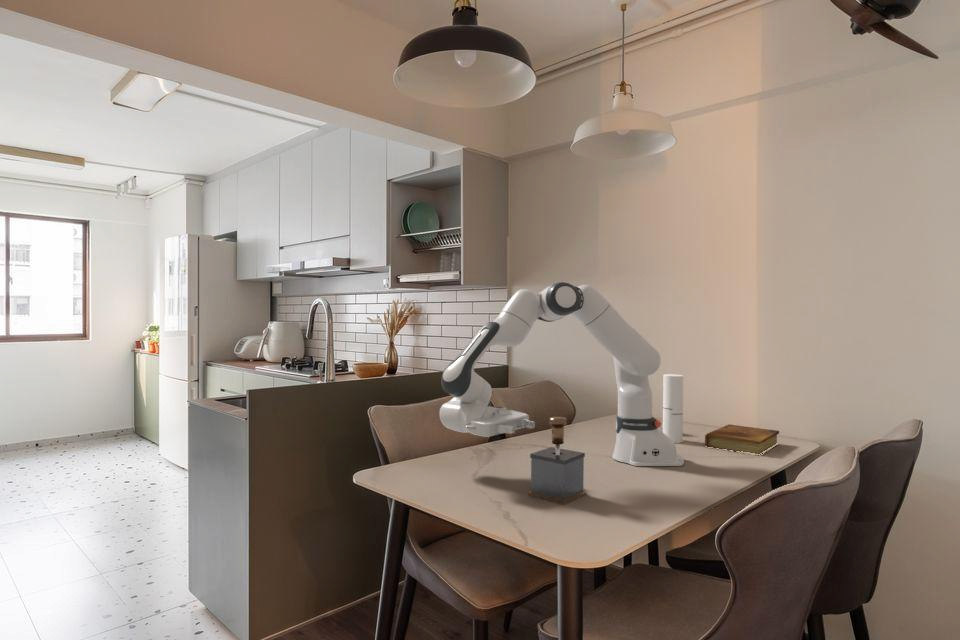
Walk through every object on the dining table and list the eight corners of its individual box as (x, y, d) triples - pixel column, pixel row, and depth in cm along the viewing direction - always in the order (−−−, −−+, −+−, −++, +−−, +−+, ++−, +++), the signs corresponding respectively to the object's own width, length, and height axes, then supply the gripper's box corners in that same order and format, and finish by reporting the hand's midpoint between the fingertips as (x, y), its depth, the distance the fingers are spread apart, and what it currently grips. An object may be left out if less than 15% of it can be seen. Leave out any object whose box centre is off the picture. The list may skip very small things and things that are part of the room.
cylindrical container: (666, 438, 220) (666, 373, 220) (684, 440, 216) (685, 375, 216) (660, 441, 215) (660, 375, 214) (679, 444, 210) (680, 376, 210)
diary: (726, 438, 223) (727, 424, 223) (778, 446, 211) (779, 430, 211) (704, 448, 206) (705, 432, 206) (760, 457, 194) (760, 440, 194)
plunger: (552, 483, 157) (553, 414, 157) (578, 488, 152) (578, 417, 151) (536, 489, 151) (536, 418, 150) (562, 496, 146) (563, 422, 145)
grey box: (550, 485, 159) (551, 446, 159) (585, 494, 152) (586, 453, 152) (528, 495, 150) (528, 454, 150) (564, 504, 143) (564, 461, 143)
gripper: (461, 415, 159) (501, 421, 150) (505, 406, 174) (543, 411, 166) (461, 437, 159) (500, 445, 150) (505, 426, 174) (543, 433, 166)
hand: (523, 427), depth 158 cm, fingers open, 8 cm apart
